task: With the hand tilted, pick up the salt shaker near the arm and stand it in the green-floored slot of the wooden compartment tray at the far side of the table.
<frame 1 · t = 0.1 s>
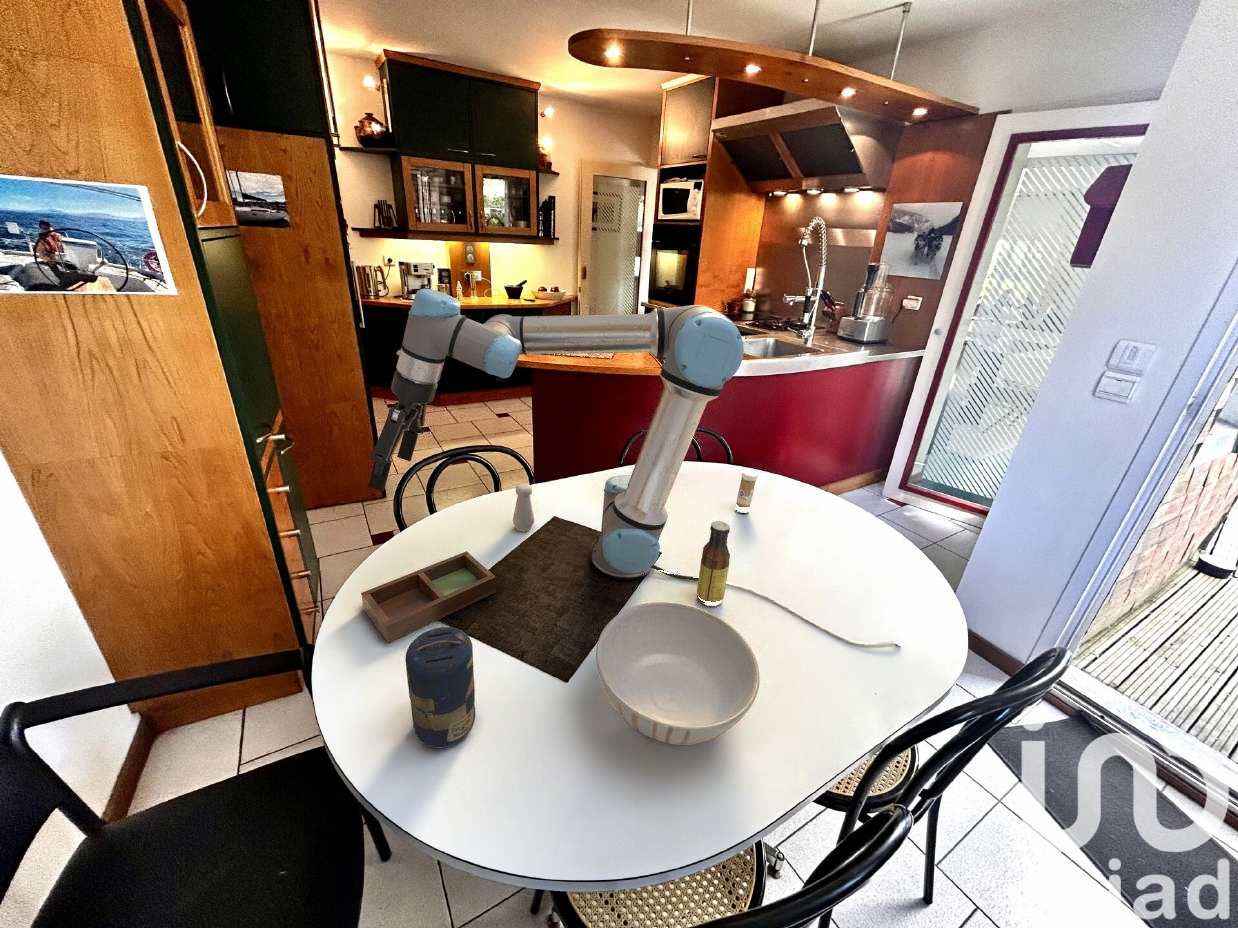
hand: (390, 472, 97), 28 cm above the table, tool tilted 20°, fingers open, 13 cm apart
canister: (446, 725, 79), on the table
sauce bottle: (708, 599, 113), on the table
decorative bowl: (667, 707, 86), on the table
salt shaker: (523, 528, 134), on the table
wooden compartment tray: (432, 600, 105), on the table
sprinkles bottle: (741, 511, 153), on the table
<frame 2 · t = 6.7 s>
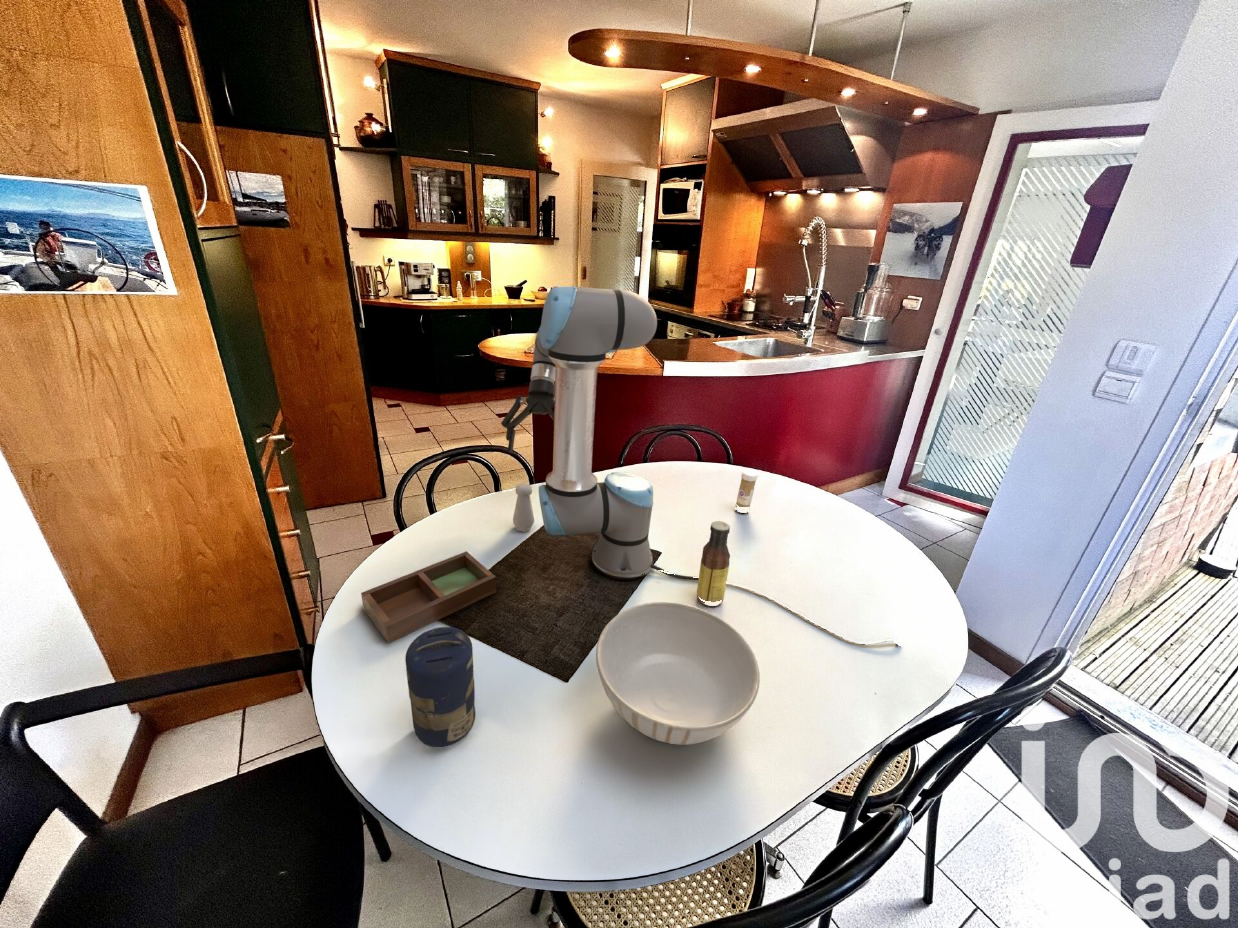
hand: (534, 454, 137), 17 cm above the table, tool tilted 35°, fingers open, 13 cm apart
nothing on the table moved.
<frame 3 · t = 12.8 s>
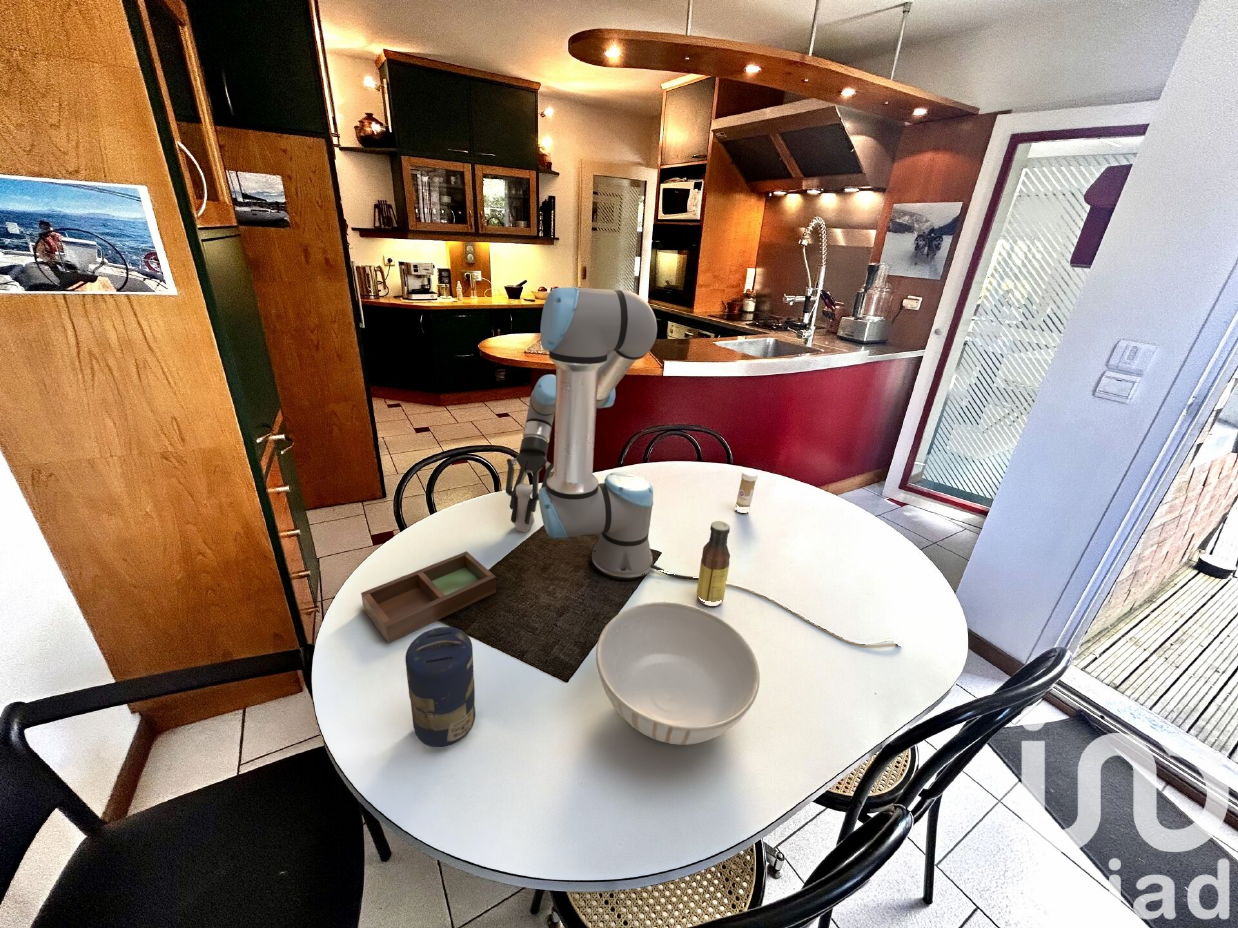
hand: (519, 522, 129), 4 cm above the table, tool tilted 45°, fingers closed on salt shaker, 3 cm apart
salt shaker: (523, 528, 134), on the table, touching gripper
everything else where it was.
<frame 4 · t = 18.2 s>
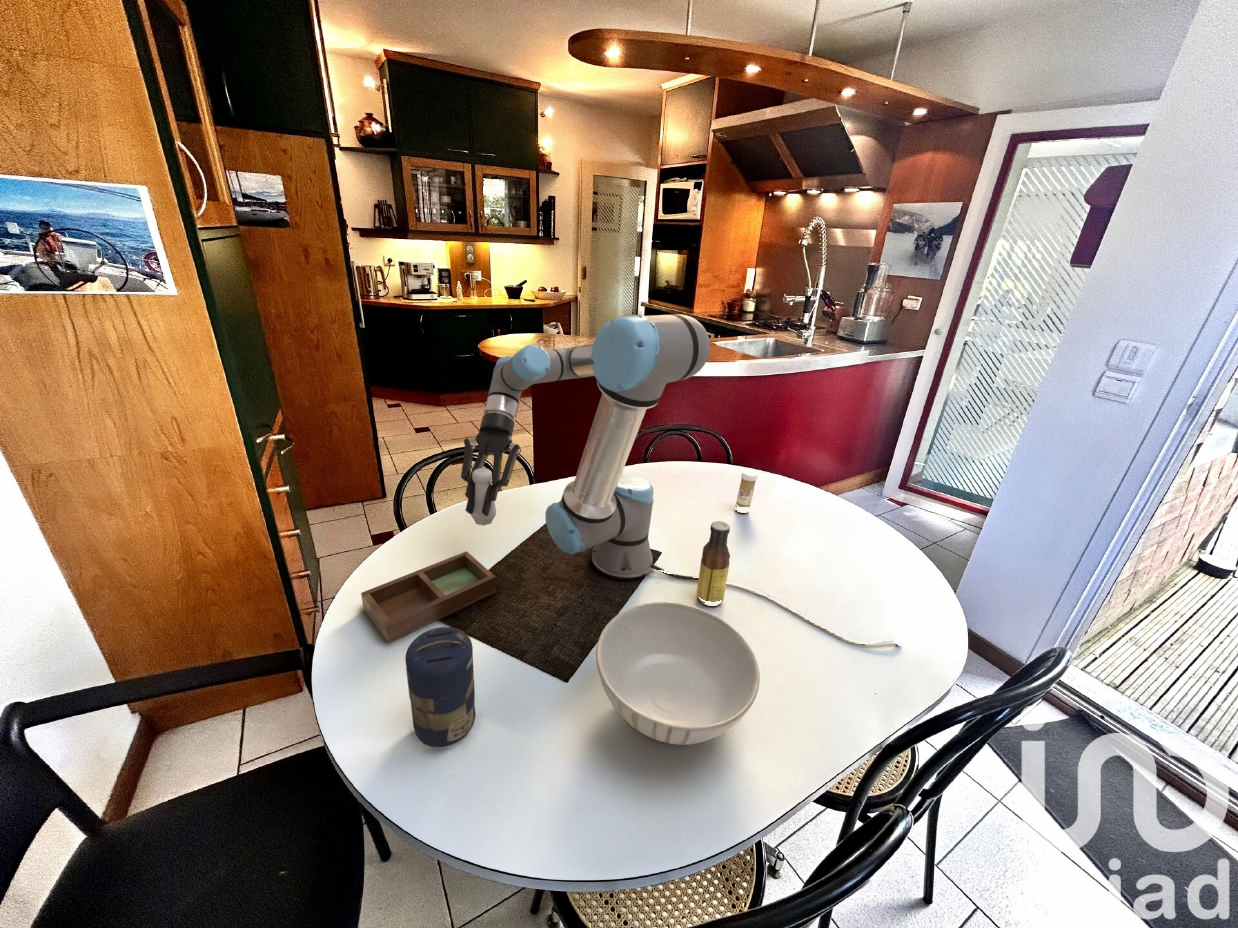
hand: (477, 513, 108), 16 cm above the table, tool tilted 45°, fingers closed on salt shaker, 3 cm apart
salt shaker: (483, 521, 114), point 12 cm above the table, touching gripper
everything else where it was.
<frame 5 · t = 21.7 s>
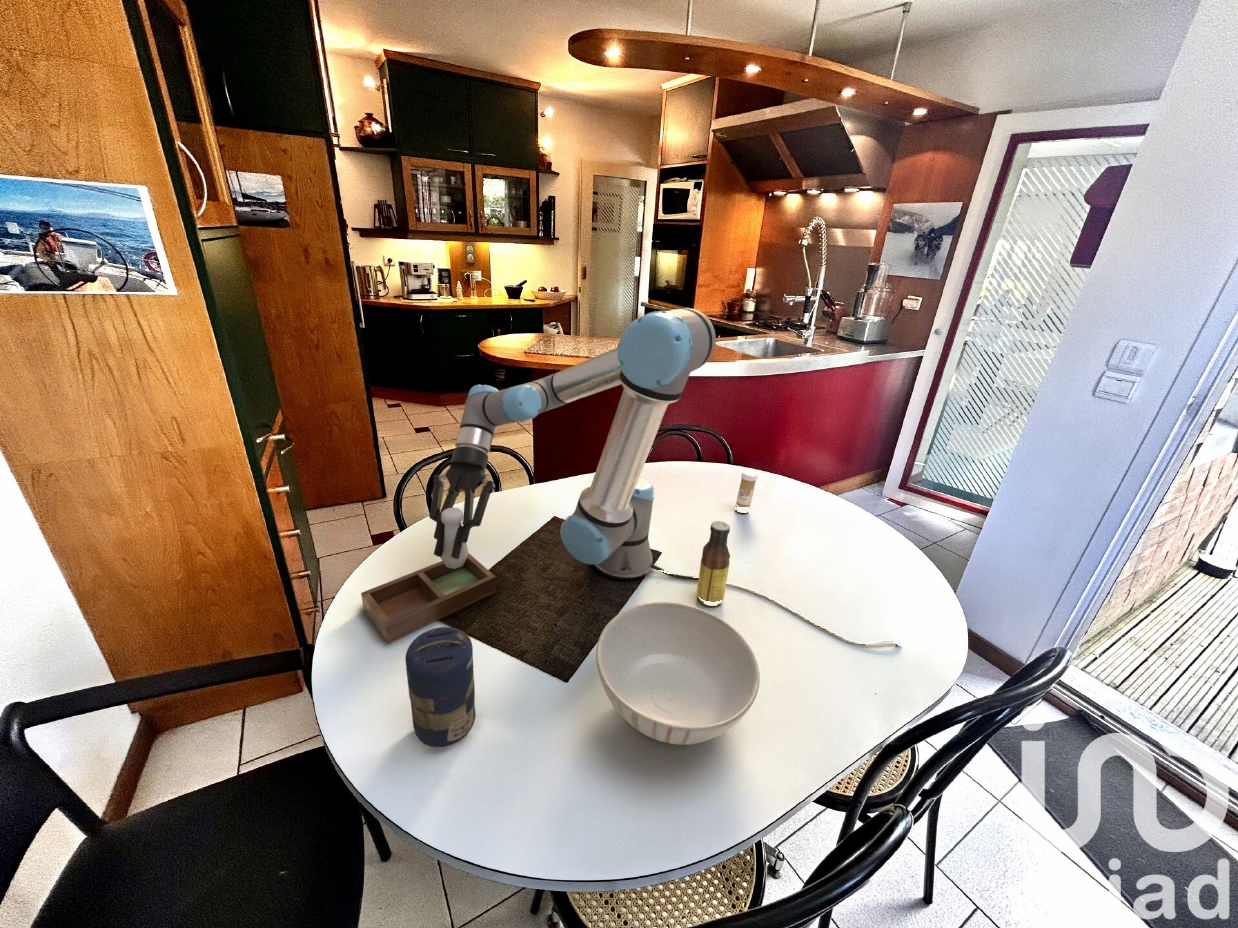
hand: (446, 556, 101), 12 cm above the table, tool tilted 45°, fingers closed on salt shaker, 3 cm apart
salt shaker: (455, 563, 106), point 7 cm above the table, touching gripper
everything else where it was.
when the fingers open (5 cm above the table, at t = 24.0 s): salt shaker stays where it is, resting on wooden compartment tray.
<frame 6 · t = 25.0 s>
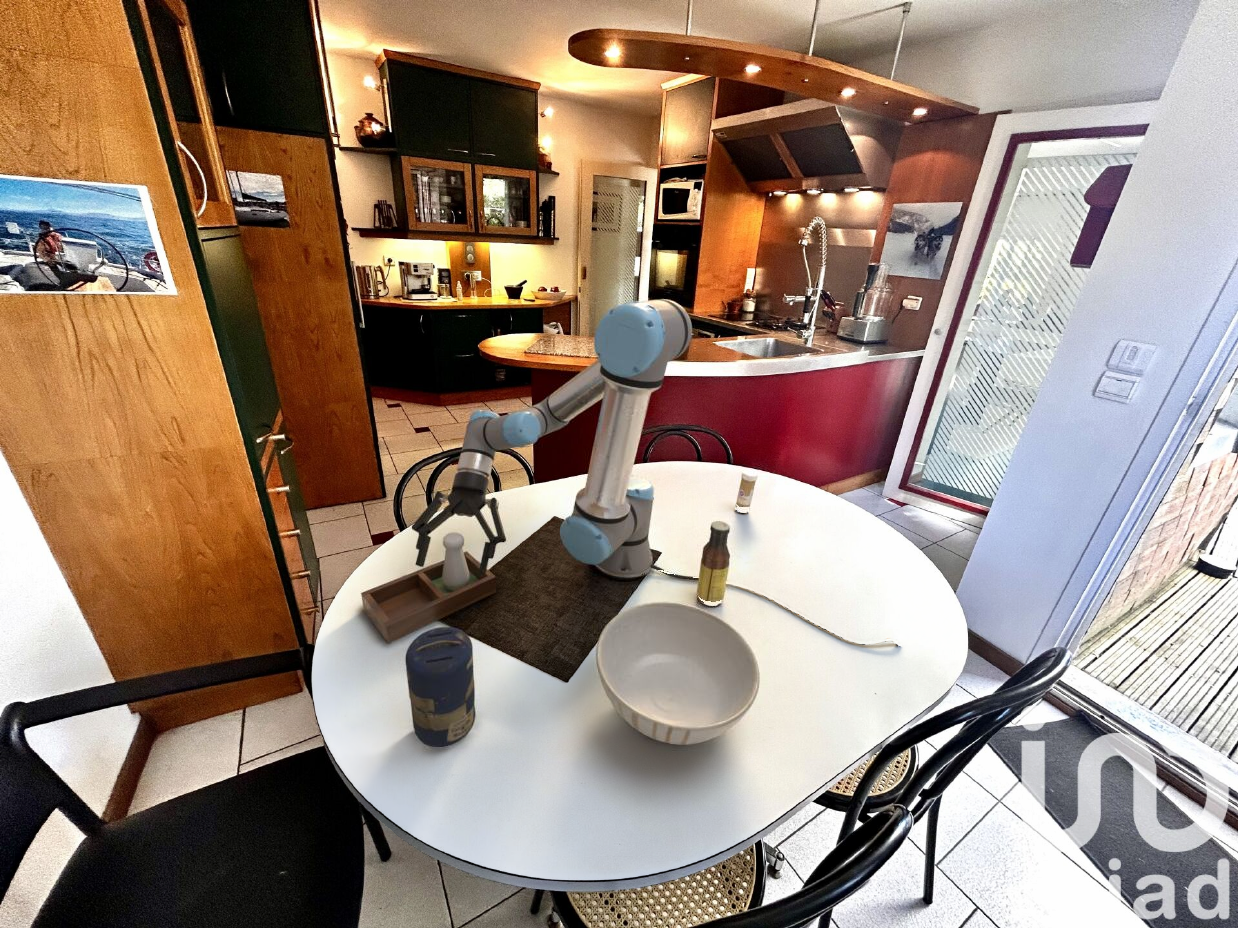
hand: (450, 569, 104), 7 cm above the table, tool tilted 45°, fingers open, 13 cm apart
salt shaker: (456, 586, 109), point 1 cm above the table, touching wooden compartment tray
everything else where it was.
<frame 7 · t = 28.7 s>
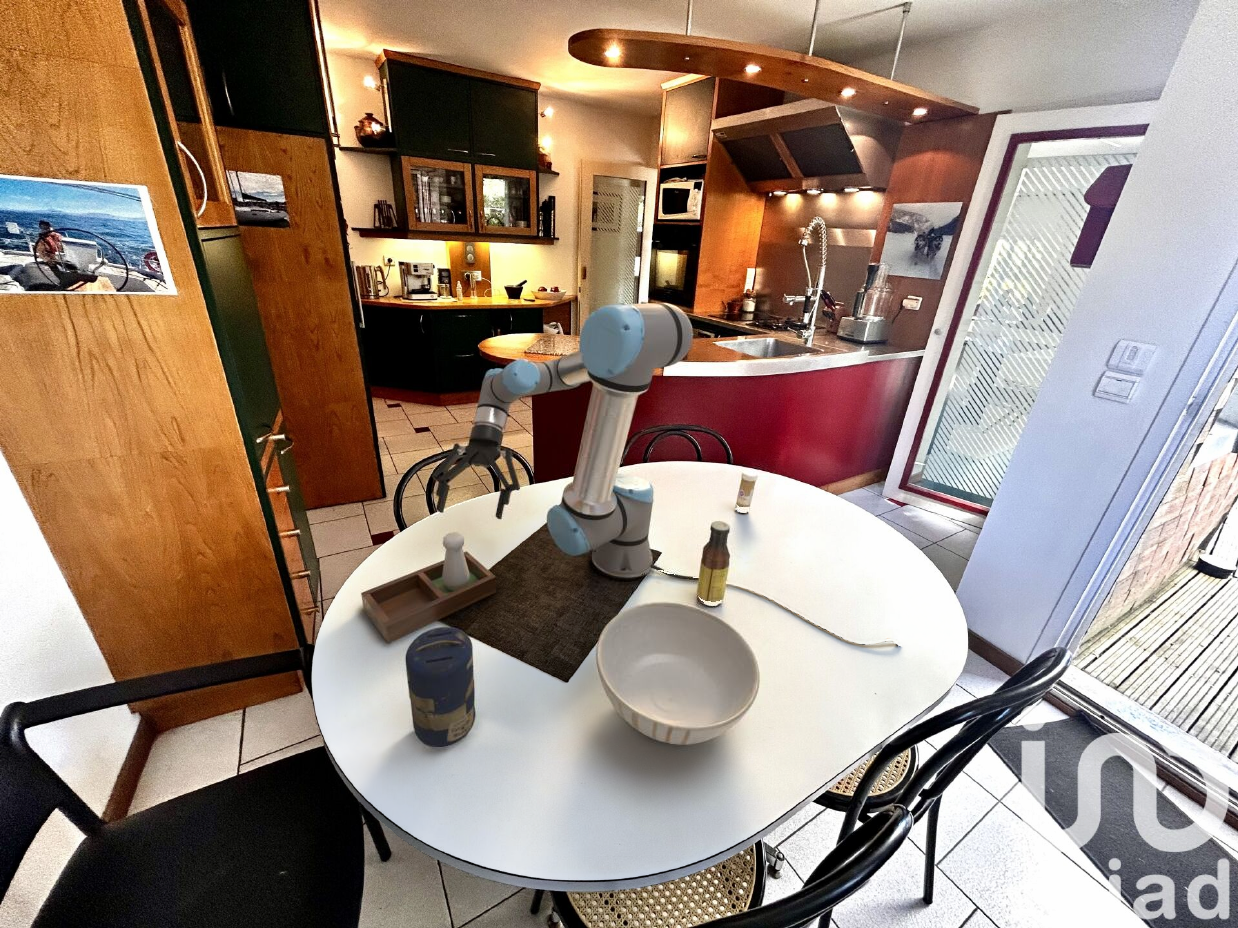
hand: (468, 514, 111), 14 cm above the table, tool tilted 45°, fingers open, 13 cm apart
nothing on the table moved.
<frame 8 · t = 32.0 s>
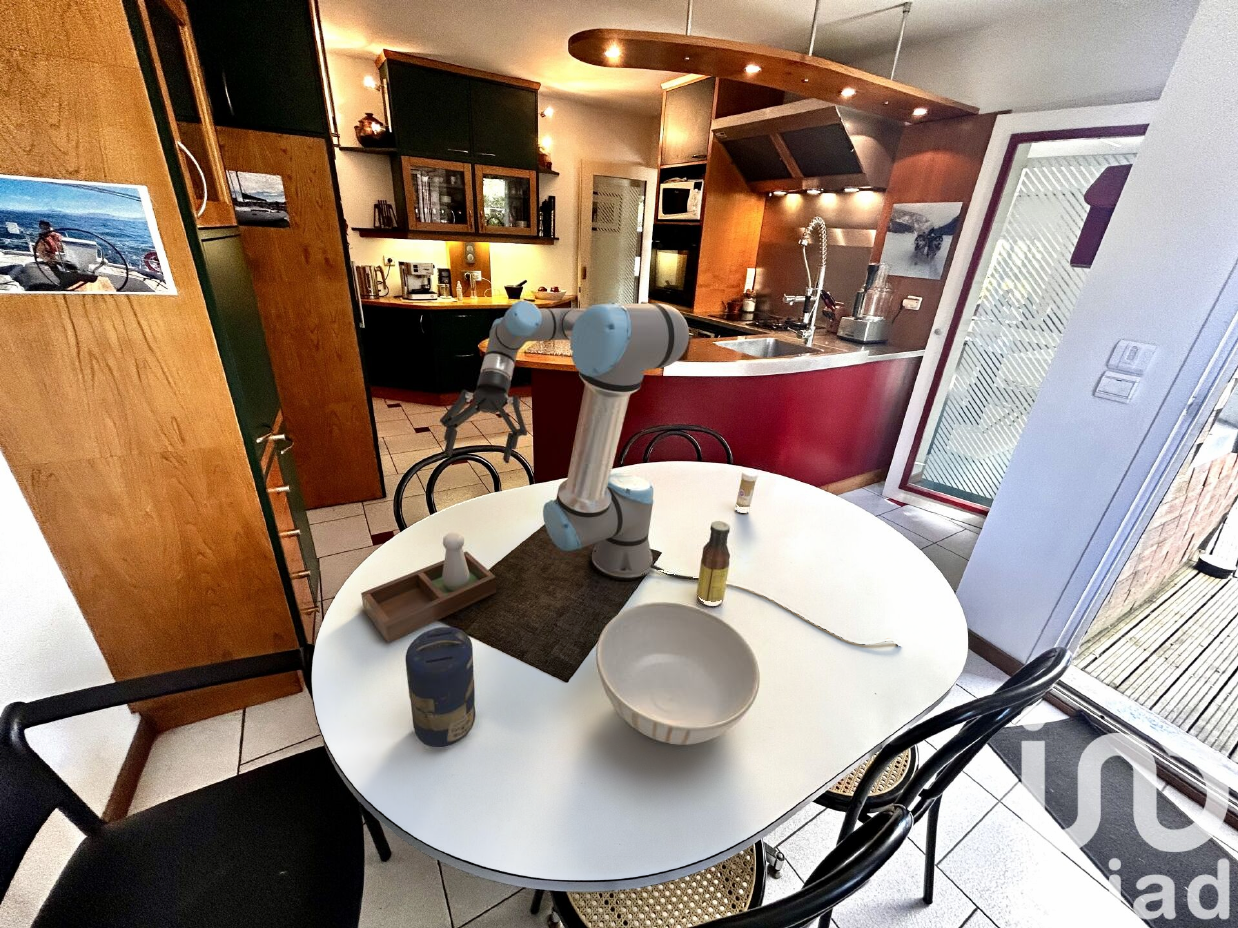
hand: (476, 458, 112), 26 cm above the table, tool tilted 45°, fingers open, 13 cm apart
nothing on the table moved.
at the end: salt shaker 0.1 cm from the target spot in the wooden compartment tray, point 0.8 cm above the wooden compartment tray's base; salt shaker tilted 0°; the gripper is holding nothing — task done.
